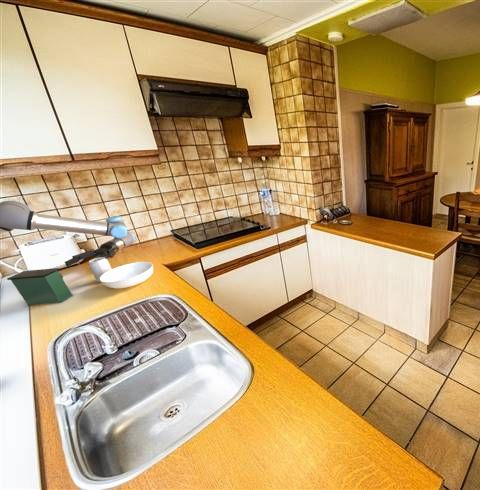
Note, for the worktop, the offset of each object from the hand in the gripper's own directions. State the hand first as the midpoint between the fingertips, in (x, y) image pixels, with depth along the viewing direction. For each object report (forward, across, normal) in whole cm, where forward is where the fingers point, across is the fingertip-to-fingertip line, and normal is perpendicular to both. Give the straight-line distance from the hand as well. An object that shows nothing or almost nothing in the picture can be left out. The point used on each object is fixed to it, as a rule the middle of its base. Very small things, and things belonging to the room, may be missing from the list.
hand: (80, 263), depth 140 cm
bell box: (+20, 0, -9) cm, 22 cm away
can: (+3, -12, -10) cm, 16 cm away
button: (+14, 0, -3) cm, 15 cm away
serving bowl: (+9, -29, -10) cm, 32 cm away
